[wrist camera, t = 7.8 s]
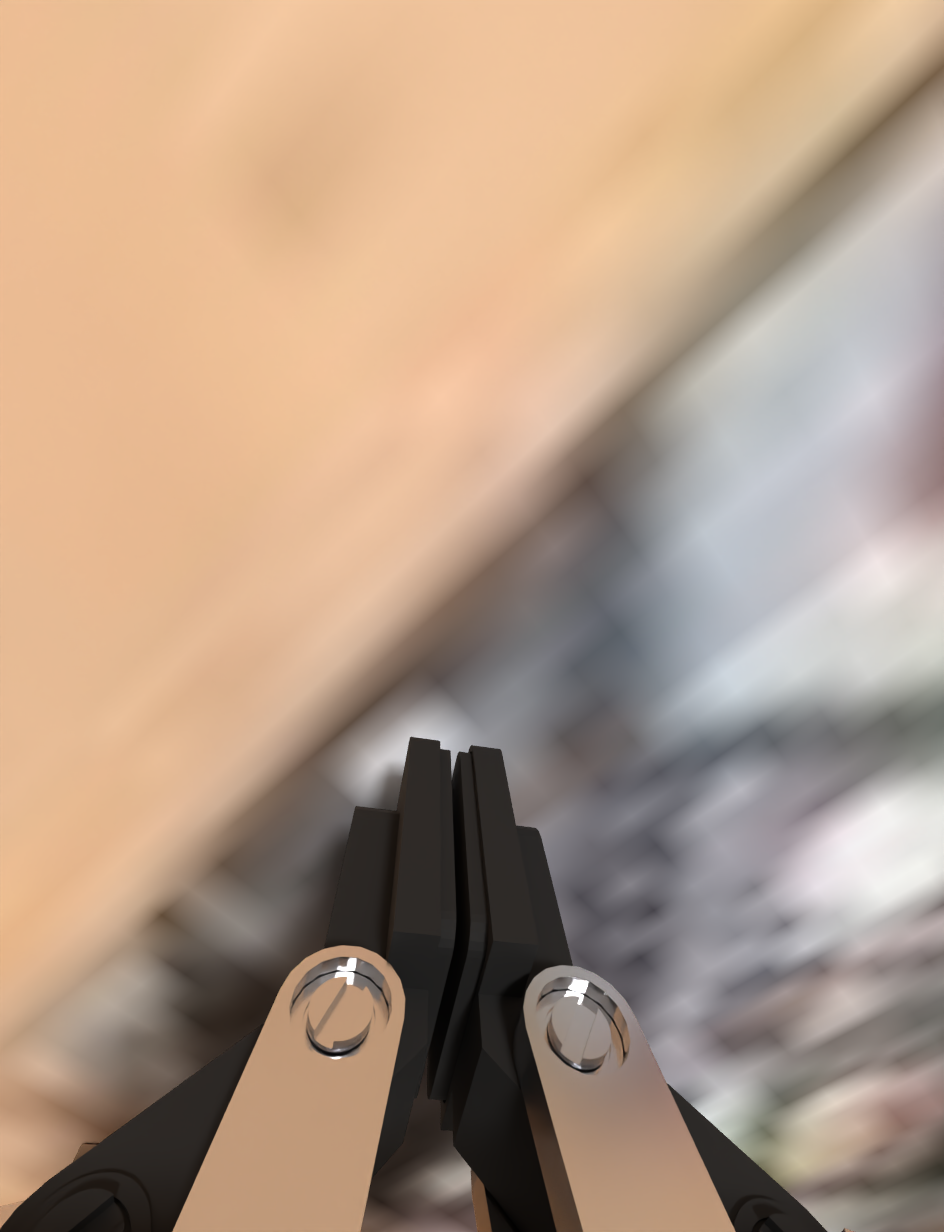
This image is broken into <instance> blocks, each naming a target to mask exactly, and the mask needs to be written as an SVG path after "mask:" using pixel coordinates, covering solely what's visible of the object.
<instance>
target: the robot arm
mask: <svg viewBox="0 0 944 1232" xmlns="http://www.w3.org/2000/svg"><path fill="white" fill-rule="evenodd" d="M427 1055H428V1065H427V1095H428V1099H435V1100H441V1130H449V1131H453V1146H454V1147H455V1148H456V1149H457V1151H458V1152H459V1153H460V1155H461V1156H462V1157H463V1159H464V1160H465V1161H466V1162H467V1164H468V1165H469V1166H470V1168H471V1186H472V1198H473V1204H474V1211H475V1217H476V1224H477V1231H478V1232H827V1231H826V1230H825V1229H824V1228H823V1227H822V1225H821V1224H820V1223H819V1222H818V1221H817V1220H816V1219H815V1218H814V1217H813V1216H812V1215H811V1214H810V1213H809V1212H808V1210H807V1209H805V1208H804V1207H803V1206H802V1205H801V1204H800V1203H799V1202H798V1201H797V1200H796V1199H794V1198H793V1197H792V1196H791V1195H790V1194H789V1193H788V1192H787V1191H786V1190H784V1189H783V1188H782V1187H781V1186H780V1185H779V1184H778V1183H777V1182H776V1181H775V1180H773V1179H772V1178H771V1177H770V1176H769V1175H768V1174H767V1173H766V1172H765V1171H764V1170H762V1169H761V1168H760V1167H759V1166H758V1165H757V1164H756V1163H755V1162H754V1161H752V1160H751V1159H750V1158H749V1157H748V1156H747V1155H746V1154H745V1153H744V1152H743V1151H741V1150H740V1149H739V1148H738V1147H737V1146H736V1145H735V1144H734V1143H733V1142H731V1141H730V1140H729V1139H728V1138H727V1137H726V1136H725V1135H724V1134H723V1133H722V1132H720V1131H719V1130H718V1129H717V1128H716V1127H715V1126H714V1125H713V1124H712V1123H710V1122H709V1121H708V1120H707V1119H706V1118H705V1117H704V1116H703V1115H702V1114H701V1113H699V1112H698V1111H697V1110H696V1109H695V1108H694V1107H693V1106H692V1105H691V1104H689V1103H688V1102H687V1101H686V1100H685V1099H684V1098H683V1097H682V1096H681V1095H680V1094H678V1093H677V1092H676V1091H675V1090H674V1089H673V1088H672V1087H671V1086H670V1085H669V1084H667V1083H666V1081H665V1079H664V1077H663V1075H662V1072H661V1070H660V1068H659V1066H658V1064H657V1062H656V1060H655V1057H654V1055H653V1053H652V1051H651V1049H650V1047H649V1044H648V1042H647V1040H646V1038H645V1036H644V1034H643V1032H642V1029H641V1027H640V1025H639V1023H638V1021H637V1019H636V1017H635V1015H634V1013H633V1012H632V1010H631V1009H630V1007H629V1005H628V1004H627V1002H626V1000H625V999H624V998H623V997H622V996H621V995H620V994H619V993H618V992H617V990H616V989H615V988H614V987H613V986H612V985H611V984H609V983H608V982H607V981H605V980H604V979H602V978H601V977H599V976H598V975H596V974H595V973H593V972H590V971H587V970H585V969H582V968H580V967H576V966H573V964H572V960H571V956H570V952H569V948H568V944H567V940H566V936H565V932H564V928H563V924H562V920H561V916H560V912H559V908H558V904H557V900H556V896H555V892H554V888H553V884H552V880H551V876H550V872H549V868H548V864H547V859H546V855H545V851H544V847H543V843H542V839H541V836H540V833H539V831H538V830H537V829H536V828H531V827H523V826H516V824H515V819H514V813H513V808H512V803H511V798H510V793H509V787H508V782H507V777H506V772H505V767H504V761H503V756H502V752H501V750H500V749H495V748H487V747H480V746H473V745H471V746H470V749H469V752H468V753H465V752H459V753H458V755H457V759H456V763H455V768H454V772H453V777H452V779H451V753H450V750H443V749H440V741H437V740H430V739H422V738H415V737H410V741H409V745H408V751H407V756H406V762H405V767H404V773H403V778H402V784H401V789H400V795H399V800H398V805H397V811H391V810H383V809H375V808H367V807H358V806H356V807H355V811H354V815H353V820H352V824H351V829H350V833H349V838H348V842H347V847H346V852H345V856H344V861H343V865H342V870H341V874H340V879H339V883H338V888H337V893H336V897H335V902H334V906H333V911H332V915H331V920H330V925H329V929H328V934H327V938H326V943H325V947H324V949H322V950H320V951H318V952H316V953H314V954H312V955H310V956H309V957H307V958H305V959H304V960H303V961H302V962H301V963H300V964H299V965H297V966H296V967H295V968H294V969H293V970H292V971H291V972H290V974H289V975H288V977H287V979H286V980H285V982H284V983H283V985H282V987H281V988H280V990H279V992H278V995H277V997H276V999H275V1001H274V1004H273V1006H272V1008H271V1011H270V1013H269V1015H268V1017H267V1020H266V1022H265V1023H264V1024H262V1025H261V1026H260V1027H258V1028H257V1029H256V1030H254V1031H253V1032H251V1033H250V1034H249V1035H247V1036H246V1037H245V1038H243V1039H242V1040H240V1041H239V1042H238V1043H236V1044H235V1045H234V1046H232V1047H231V1048H229V1049H228V1050H227V1051H225V1052H224V1053H223V1054H221V1055H220V1056H218V1057H217V1058H216V1059H214V1060H213V1061H212V1062H210V1063H209V1064H207V1065H206V1066H205V1067H203V1068H202V1069H201V1070H199V1071H198V1072H196V1073H195V1074H194V1075H192V1076H191V1077H190V1078H188V1079H187V1080H185V1081H184V1082H183V1083H181V1084H180V1085H179V1086H177V1087H176V1088H174V1089H173V1090H172V1091H170V1092H169V1093H168V1094H166V1095H165V1096H163V1097H162V1098H161V1099H159V1100H158V1101H157V1102H155V1103H154V1104H152V1105H151V1106H150V1107H148V1108H147V1109H146V1110H144V1111H143V1112H141V1113H140V1114H139V1115H137V1116H136V1117H135V1118H133V1119H132V1120H130V1121H129V1122H128V1123H126V1124H125V1125H124V1126H122V1127H121V1128H120V1129H118V1130H117V1131H115V1132H114V1133H113V1134H111V1135H110V1136H109V1137H107V1138H106V1139H104V1140H103V1141H102V1142H100V1143H99V1144H98V1145H96V1146H95V1147H93V1148H92V1149H91V1150H89V1151H88V1152H87V1153H85V1154H84V1155H82V1156H81V1157H80V1158H78V1159H77V1160H76V1161H74V1162H73V1163H71V1164H70V1165H69V1166H67V1167H66V1168H65V1169H63V1170H62V1171H60V1172H59V1173H58V1174H56V1175H55V1176H54V1177H52V1178H51V1179H49V1180H48V1181H47V1182H46V1183H45V1184H43V1185H42V1186H41V1187H40V1188H39V1189H38V1190H37V1191H35V1192H34V1193H33V1194H32V1195H31V1196H30V1197H29V1198H28V1199H26V1200H25V1201H21V1202H17V1203H13V1204H9V1205H4V1206H0V1232H360V1231H361V1226H362V1221H363V1216H364V1211H365V1207H366V1202H367V1197H368V1192H369V1187H370V1182H371V1179H372V1177H373V1176H374V1175H375V1174H376V1173H377V1172H378V1171H379V1169H380V1168H381V1167H382V1166H383V1165H384V1164H385V1163H386V1162H387V1160H388V1159H389V1158H390V1157H391V1156H392V1155H393V1154H394V1152H395V1151H396V1150H397V1149H398V1148H399V1147H400V1146H401V1144H402V1143H403V1140H404V1136H405V1132H406V1128H407V1124H408V1120H409V1116H410V1112H411V1107H412V1103H413V1099H414V1098H417V1095H418V1091H419V1087H420V1083H421V1079H422V1075H423V1071H424V1067H425V1063H426V1059H427ZM842 1232H854V1231H851V1230H848V1229H845V1228H844V1229H843V1231H842Z"/></svg>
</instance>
